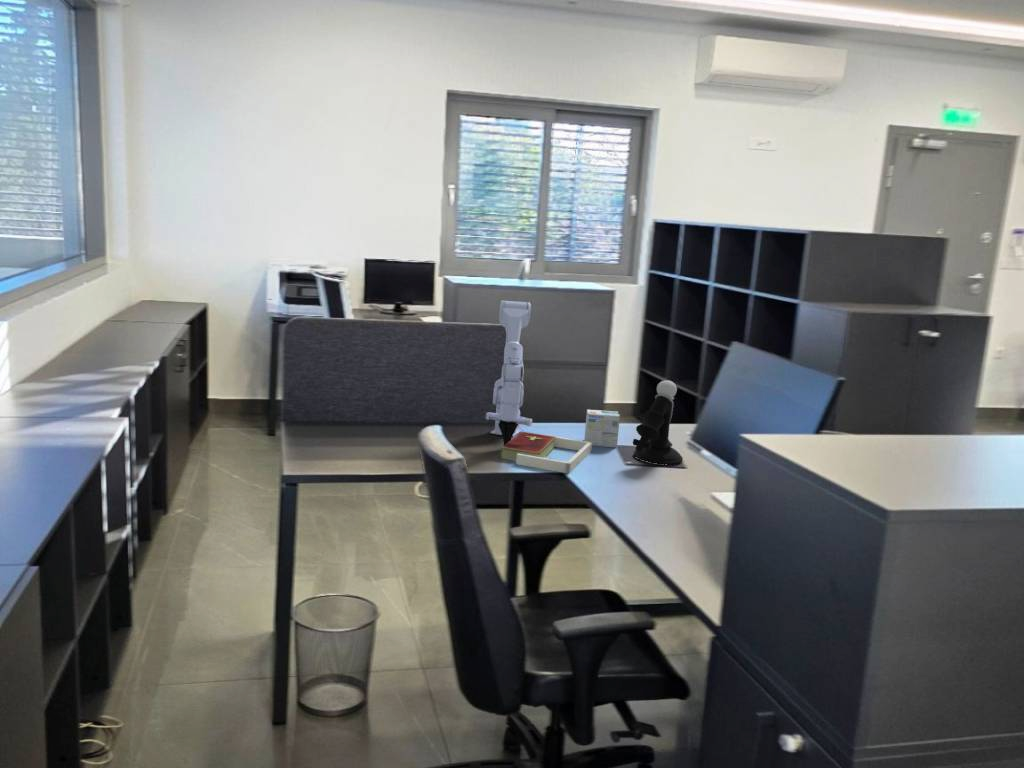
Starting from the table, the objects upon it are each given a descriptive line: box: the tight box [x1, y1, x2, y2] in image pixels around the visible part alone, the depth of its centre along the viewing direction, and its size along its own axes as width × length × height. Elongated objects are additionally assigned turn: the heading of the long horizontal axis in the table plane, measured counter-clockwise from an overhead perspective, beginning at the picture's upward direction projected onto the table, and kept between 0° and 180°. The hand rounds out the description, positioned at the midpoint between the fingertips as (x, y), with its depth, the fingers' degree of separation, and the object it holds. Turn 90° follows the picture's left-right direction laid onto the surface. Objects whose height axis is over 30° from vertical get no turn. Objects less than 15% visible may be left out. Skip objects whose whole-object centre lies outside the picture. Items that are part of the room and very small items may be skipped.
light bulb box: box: [583, 409, 621, 448], centre depth 280 cm, size 11×7×11 cm, turn 89°
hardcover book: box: [499, 430, 557, 462], centre depth 264 cm, size 12×21×4 cm, turn 163°
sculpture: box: [632, 379, 684, 466], centre depth 264 cm, size 15×24×25 cm, turn 147°
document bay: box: [515, 434, 593, 474], centre depth 261 cm, size 26×16×3 cm, turn 161°
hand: (506, 444), depth 266 cm, fingers closed
